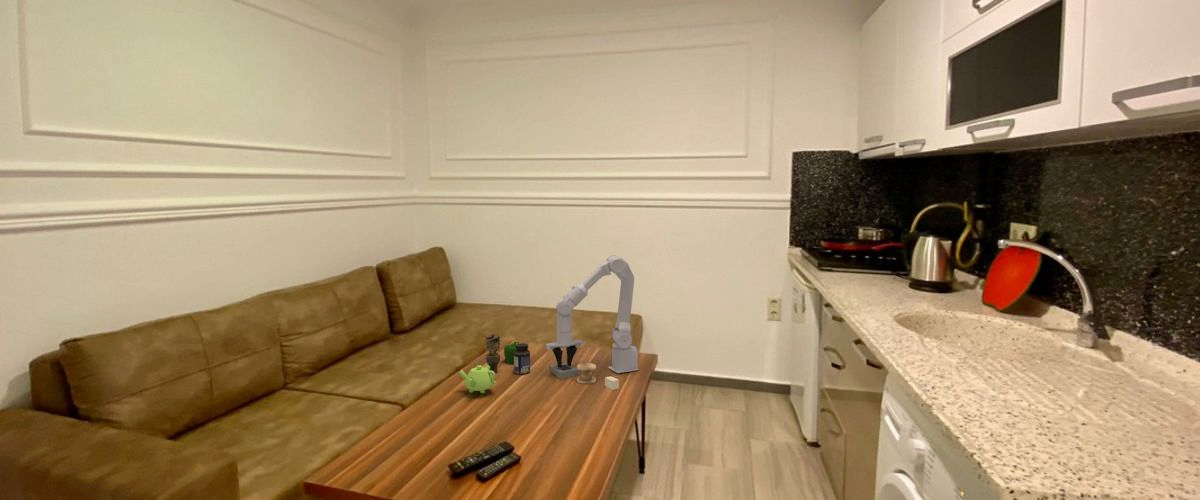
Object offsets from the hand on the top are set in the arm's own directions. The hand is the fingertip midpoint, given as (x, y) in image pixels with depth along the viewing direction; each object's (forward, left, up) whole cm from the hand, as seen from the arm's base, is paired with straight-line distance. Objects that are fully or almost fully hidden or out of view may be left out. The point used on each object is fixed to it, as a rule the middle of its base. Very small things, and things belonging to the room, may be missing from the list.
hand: (564, 366), depth 195 cm
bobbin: (-4, +11, -3) cm, 12 cm away
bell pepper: (+13, -20, -3) cm, 24 cm away
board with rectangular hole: (0, 0, -3) cm, 3 cm away
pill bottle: (+14, -8, -3) cm, 16 cm away
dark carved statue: (+24, -13, -3) cm, 27 cm away
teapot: (+34, +3, -3) cm, 34 cm away
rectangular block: (-9, +21, -3) cm, 23 cm away
